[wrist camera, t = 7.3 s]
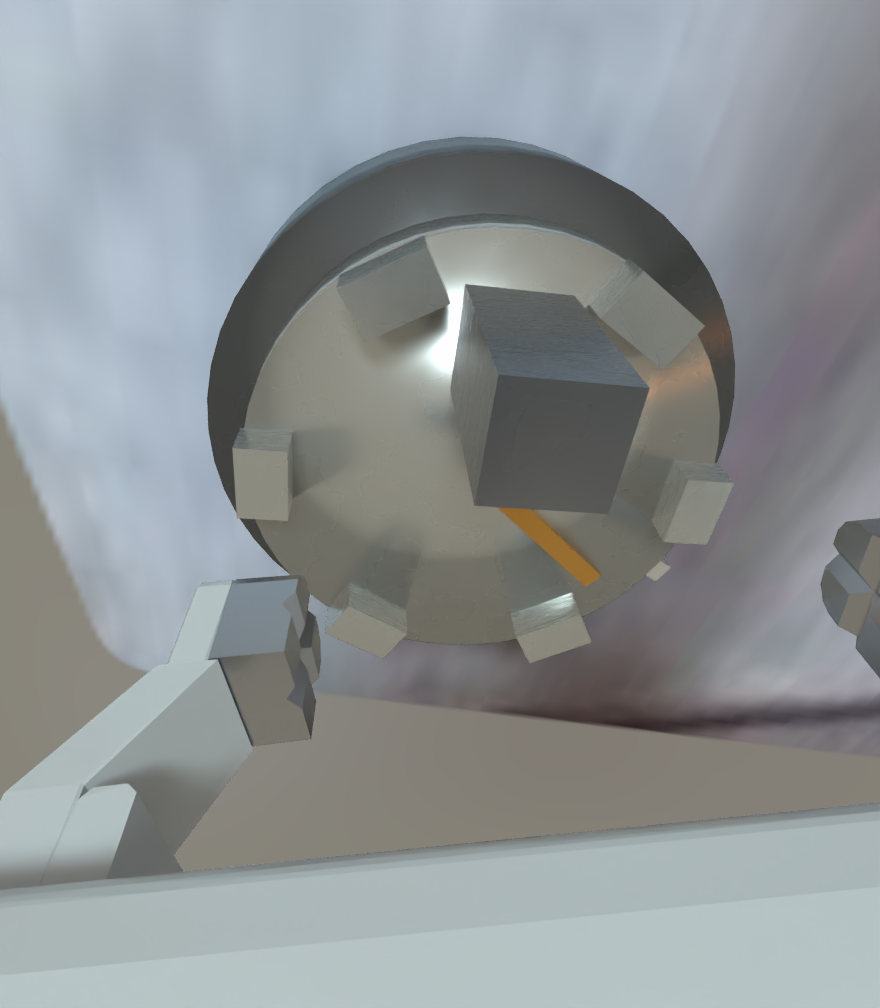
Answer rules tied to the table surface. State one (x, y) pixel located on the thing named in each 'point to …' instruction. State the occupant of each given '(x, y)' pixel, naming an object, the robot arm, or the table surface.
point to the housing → (434, 195)
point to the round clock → (480, 435)
